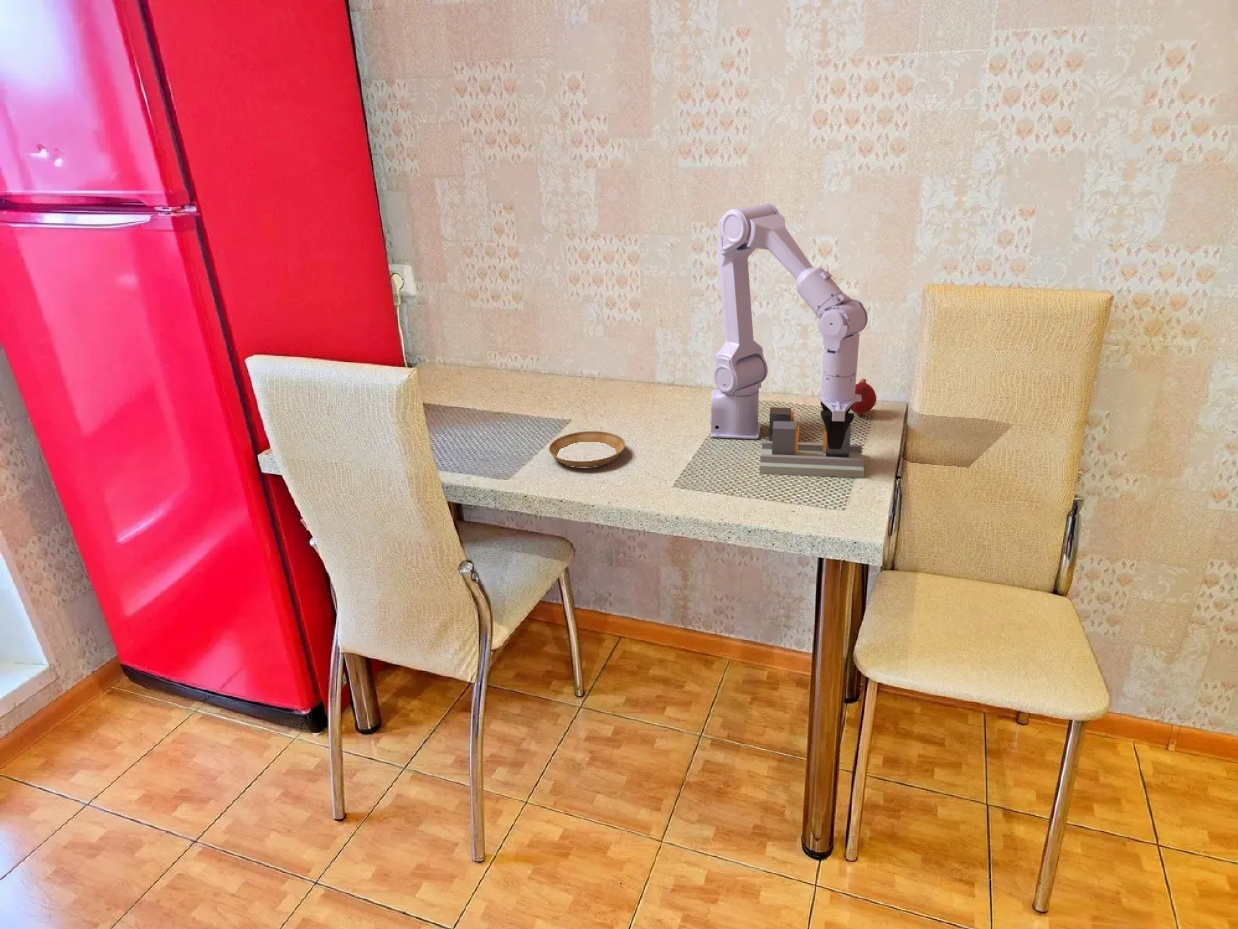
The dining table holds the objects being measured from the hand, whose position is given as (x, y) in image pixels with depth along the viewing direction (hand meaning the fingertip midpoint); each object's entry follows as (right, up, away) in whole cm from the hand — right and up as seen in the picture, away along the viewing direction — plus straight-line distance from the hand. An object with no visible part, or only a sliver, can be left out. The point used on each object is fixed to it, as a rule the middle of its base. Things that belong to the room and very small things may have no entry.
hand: (834, 443), depth 148 cm
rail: (-4, -4, +3) cm, 6 cm away
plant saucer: (-45, -3, +11) cm, 46 cm away
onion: (+11, +6, +23) cm, 26 cm away
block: (-7, +1, +14) cm, 15 cm away
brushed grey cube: (+1, -2, +1) cm, 2 cm away
